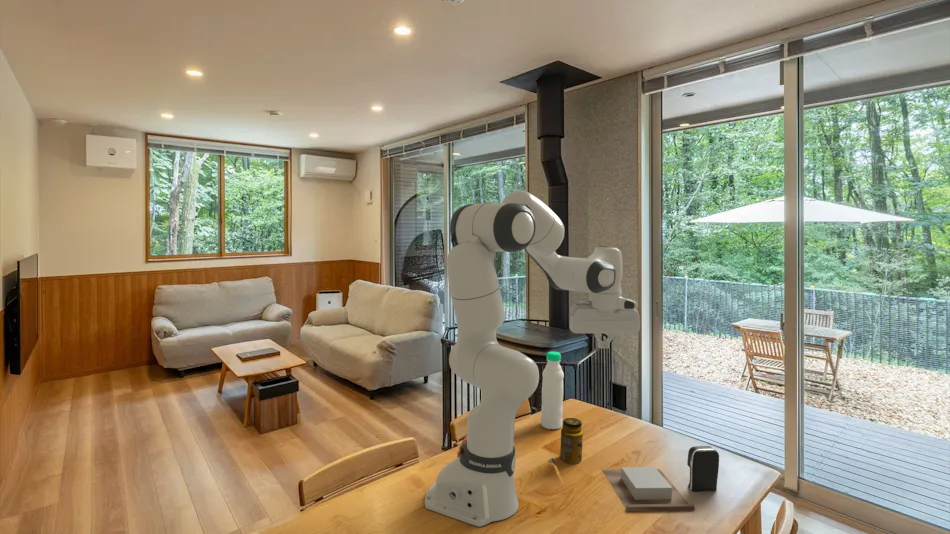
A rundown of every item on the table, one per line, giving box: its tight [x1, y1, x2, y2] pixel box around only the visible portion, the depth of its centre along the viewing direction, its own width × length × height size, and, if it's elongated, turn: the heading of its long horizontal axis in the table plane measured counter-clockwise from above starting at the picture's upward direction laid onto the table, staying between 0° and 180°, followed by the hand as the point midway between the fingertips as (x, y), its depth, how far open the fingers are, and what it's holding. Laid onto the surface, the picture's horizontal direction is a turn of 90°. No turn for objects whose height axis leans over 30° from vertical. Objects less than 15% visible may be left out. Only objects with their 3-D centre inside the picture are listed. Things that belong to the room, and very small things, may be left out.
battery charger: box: [687, 445, 720, 493], centre depth 123 cm, size 7×4×11 cm, turn 96°
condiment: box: [548, 417, 584, 466], centre depth 136 cm, size 7×8×12 cm
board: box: [602, 468, 696, 512], centre depth 122 cm, size 19×16×2 cm
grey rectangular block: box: [620, 466, 672, 500], centre depth 122 cm, size 9×3×10 cm
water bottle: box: [540, 351, 565, 431], centre depth 160 cm, size 7×7×25 cm
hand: (603, 347), depth 142 cm, fingers closed
